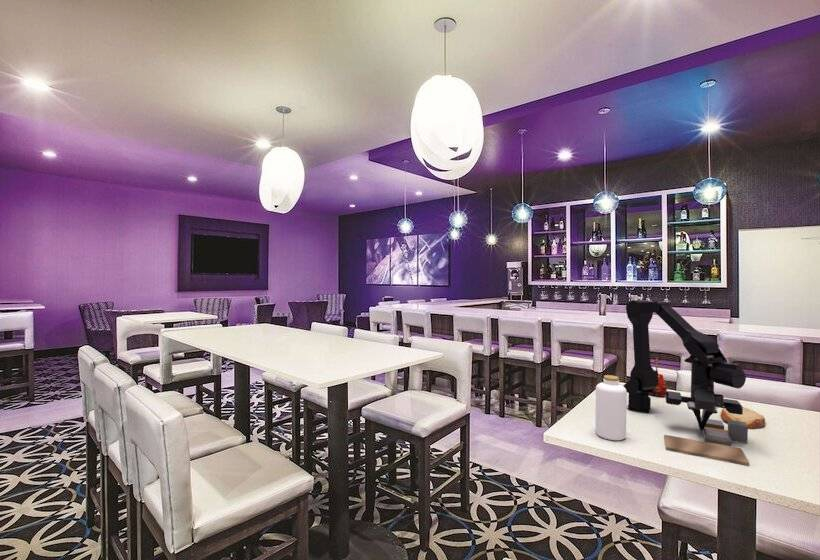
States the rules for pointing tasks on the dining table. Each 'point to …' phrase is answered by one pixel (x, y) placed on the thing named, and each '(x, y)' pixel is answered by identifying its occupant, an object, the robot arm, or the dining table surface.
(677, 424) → the dining table surface
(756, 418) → the slice of bread
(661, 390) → the red clay folk toy
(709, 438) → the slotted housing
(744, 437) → the plug
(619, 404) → the potion bottle
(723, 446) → the walnut board
